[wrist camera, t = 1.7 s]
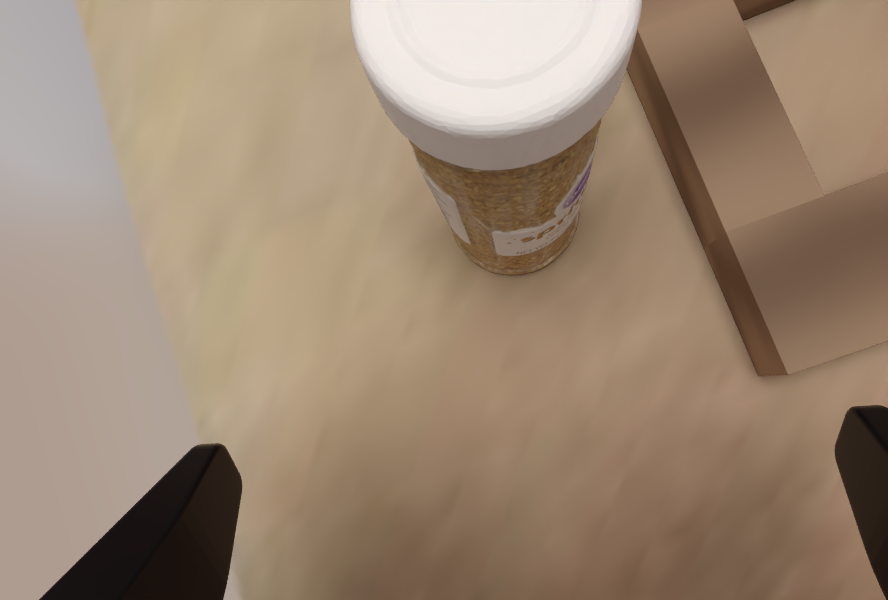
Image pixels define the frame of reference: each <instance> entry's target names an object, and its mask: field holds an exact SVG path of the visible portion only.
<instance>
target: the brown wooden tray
mask: <svg viewBox="0 0 888 600" xmlns="http://www.w3.org/2000/svg"><path fill="white" fill-rule="evenodd" d="M791 1H794V0H642V5H641V15H640V20H639V24H638V29H637V33H636V37H635V41H634V45H633V48H632V52H631V55H630V59H629V62H628V65H627V70H628V73H629V75H630V77H631V80H632V82H633V84H634V87H635V89H636V91H637V94H638V96H639V98H640V101H641V103H642V105H643V108H644V110H645V112H646V115H647V117H648V119H649V122H650V124H651V126H652V129H653V131H654V133H655V136H656V138H657V140H658V143H659V145H660V147H661V150H662V152H663V154H664V157H665V159H666V161H667V164H668V166H669V168H670V171H671V173H672V175H673V178H674V180H675V182H676V185H677V187H678V189H679V192H680V194H681V196H682V199H683V201H684V203H685V206H686V208H687V210H688V213H689V215H690V217H691V220H692V222H693V224H694V227H695V229H696V231H697V234H698V236H699V238H700V241H701V243H702V245H703V248H704V250H705V252H706V255H707V257H708V259H709V262H710V264H711V266H712V269H713V271H714V273H715V276H716V278H717V280H718V283H719V285H720V287H721V290H722V292H723V294H724V297H725V299H726V301H727V304H728V306H729V308H730V311H731V313H732V315H733V318H734V320H735V322H736V325H737V327H738V329H739V332H740V334H741V336H742V339H743V341H744V343H745V346H746V348H747V350H748V352H749V355H750V357H751V359H752V362H753V364H754V366H755V369H756V371H757V373H758V376H763V375H790V374H793V373H795V372H798V371H801V370H804V369H807V368H810V367H813V366H816V365H819V364H822V363H824V362H827V361H830V360H833V359H836V358H839V357H842V356H845V355H848V354H851V353H853V352H856V351H859V350H862V349H865V348H868V347H871V346H874V345H877V344H879V343H882V342H885V341H888V173H885V174H883V175H880V176H877V177H875V178H872V179H869V180H866V181H864V182H861V183H858V184H855V185H853V186H850V187H847V188H844V189H842V190H839V191H836V192H834V193H831V194H828V195H825V196H824V194H823V192H822V189H821V187H820V185H819V183H818V181H817V179H816V177H815V174H814V172H813V170H812V168H811V166H810V164H809V162H808V159H807V157H806V155H805V153H804V151H803V149H802V147H801V144H800V142H799V140H798V138H797V136H796V134H795V132H794V129H793V127H792V125H791V123H790V121H789V119H788V117H787V114H786V112H785V110H784V108H783V106H782V104H781V102H780V99H779V97H778V95H777V93H776V91H775V89H774V87H773V84H772V82H771V80H770V78H769V76H768V74H767V72H766V69H765V67H764V65H763V63H762V61H761V59H760V57H759V54H758V52H757V50H756V48H755V46H754V44H753V42H752V39H751V37H750V35H749V33H748V31H747V29H746V27H745V24H744V22H743V20H745V19H748V18H750V17H753V16H756V15H758V14H761V13H763V12H766V11H768V10H771V9H773V8H776V7H779V6H781V5H784V4H786V3H789V2H791Z"/></svg>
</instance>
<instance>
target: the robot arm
mask: <svg viewBox="0 0 888 600" xmlns="http://www.w3.org/2000/svg"><path fill="white" fill-rule="evenodd" d="M835 458H836V462H837V466H838V469H839V472H840V475H841V478H842V481H843V484H844V487H845V490H846V493H847V496H848V499H849V502H850V505H851V508H852V511H853V514H854V517H855V520H856V523H857V526H858V529H859V532H860V535H861V538H862V541H863V544H864V547H865V550H866V553H867V555H868V558H869V561H870V564H871V566H872V569H873V571H874V573H875V576H876V578H877V580H878V583H879V585H880V587H881V589H882V591H883V593H884V596H885V598H886V600H888V408H886V407H884V406H880V405H872V406H855V407H851V408H850V409H849V410H848V411H847V413H846V415H845V418H844V421H843V424H842V426H841V429H840V432H839V435H838V438H837V441H836V444H835ZM241 494H242V480H241V476H240V473H239V472H238V470H237V468H236V466H235V464H234V462H233V460H232V458H231V456H230V454H229V452H228V451H227V449H226V447H225V446H224V445H222V444H219V443H215V444H200V445H197V446H195V447H193V448H192V449H191V450H190V451H189V452H188V453H187V454H186V455H185V456H184V457H183V458H182V459H180V460H179V462H177V463H176V465H175V466H173V467H172V468H171V469H170V470H169V471H168V473H167V474H165V475H164V476H163V477H162V478H161V480H159V481H158V482H157V483H156V484H155V485H154V486H153V487H152V488H151V490H149V491H148V493H146V494H145V495H144V496H143V497H142V498H141V499H140V500H139V501H138V502H137V503H136V504H135V505H134V506H133V507H132V508H131V509H130V510H129V511H128V512H127V513H126V514H125V515H124V516H123V517H122V518H121V519H120V520H119V521H118V522H117V523H116V524H115V525H114V526H113V527H112V528H111V529H110V530H109V531H108V532H107V533H106V534H105V535H104V536H103V537H102V538H101V539H100V540H99V541H98V542H97V543H96V544H95V545H94V546H93V547H92V548H91V549H90V550H89V551H88V552H87V553H86V554H85V555H84V556H83V557H82V558H81V559H80V560H79V561H78V562H77V563H76V564H75V565H74V566H73V567H72V568H71V569H70V570H69V571H68V572H67V573H66V574H65V575H64V576H63V577H62V578H61V579H59V581H57V582H56V583H55V584H54V585H53V586H52V588H50V590H48V591H47V592H46V594H44V595H43V596H42V597H41V598H40V599H39V600H223V597H224V593H225V589H226V585H227V580H228V575H229V569H230V563H231V557H232V550H233V544H234V538H235V532H236V525H237V519H238V513H239V506H240V500H241Z"/></svg>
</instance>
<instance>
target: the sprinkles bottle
mask: <svg viewBox="0 0 888 600" xmlns="http://www.w3.org/2000/svg"><path fill="white" fill-rule="evenodd" d="M641 5H642V0H350V17H351V27H352V34H353V39H354V43H355V46H356V50H357V53H358V56H359V58H360V61H361V63H362V65H363V68H364V70H365V73H366V75H367V77H368V79H369V82H370V84H371V86H372V88H373V90H374V92H375V94H376V96H377V98H378V100H379V101H380V103H381V105H382V107H383V109H384V111H385V113H386V114H387V115H388V117H389V118H390V119H391V121H392V122H393V123H394V125H395V126H396V127H397V128H398V130H399V131H400V132H401V133H402V134H403V135H404V136H405V137H406V138H408V139H409V141H410V143H411V145H412V149H413V152H414V155H415V158H416V161H417V163H418V166H419V168H420V170H421V172H422V174H423V176H424V178H425V180H426V182H427V184H428V186H429V187H430V189H431V191H432V193H433V195H434V197H435V199H436V201H437V203H438V205H439V206H440V208H441V210H442V212H443V214H444V216H445V218H446V220H447V222H448V223H449V225H450V226H451V229H452V231H453V234H454V238H455V240H456V242H457V244H458V245H459V246H460V248H461V249H462V250H463V251H464V252H465V253H466V254H467V256H468V257H469V259H471V260H472V261H473V262H475V263H477V264H478V265H479V266H481V267H483V268H485V269H486V270H488V271H491V272H494V273H499V274H506V275H517V274H525V273H529V272H534V271H536V270H539V269H541V268H543V267H545V266H546V265H548V264H549V263H551V262H553V261H554V260H555V259H556V258H557V257H558V256H559V255H560V254H561V253H562V252H563V251H564V250H565V249H566V248H567V247H568V246H569V244H570V243H571V240H572V238H573V236H574V233H575V232H576V229H577V224H578V219H579V208H580V205H581V203H582V200H583V196H584V192H585V188H586V184H587V180H588V177H589V174H590V169H591V166H592V161H593V157H594V153H595V150H596V146H597V141H598V131H599V127H600V123H601V118H602V116H603V115H604V114H605V113H606V111H607V110H608V108H609V106H610V105H611V103H612V101H613V100H614V98H615V96H616V94H617V92H618V90H619V88H620V85H621V82H622V80H623V77H624V74H625V71H626V68H627V65H628V62H629V59H630V55H631V52H632V48H633V45H634V41H635V37H636V33H637V29H638V24H639V20H640V15H641Z"/></svg>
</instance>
